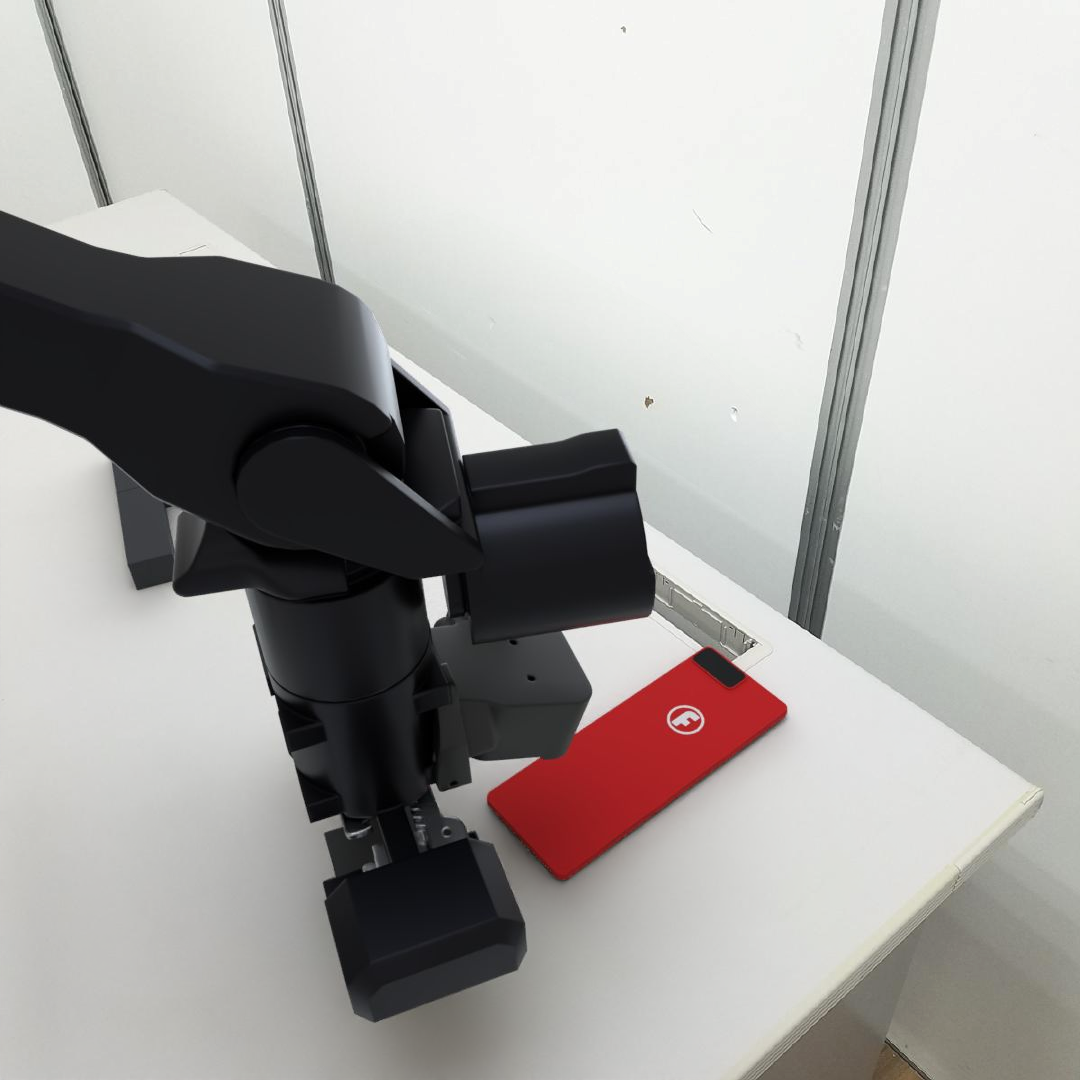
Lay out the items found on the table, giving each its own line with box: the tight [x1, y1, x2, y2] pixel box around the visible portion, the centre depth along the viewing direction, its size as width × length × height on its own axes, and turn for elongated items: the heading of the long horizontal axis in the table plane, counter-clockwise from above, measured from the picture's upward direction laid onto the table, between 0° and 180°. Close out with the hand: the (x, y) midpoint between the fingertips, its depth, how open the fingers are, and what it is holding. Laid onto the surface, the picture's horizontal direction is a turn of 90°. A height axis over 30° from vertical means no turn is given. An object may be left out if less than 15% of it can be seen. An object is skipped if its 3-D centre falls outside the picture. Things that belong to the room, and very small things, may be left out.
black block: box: [323, 806, 427, 877], centre depth 50 cm, size 5×5×3 cm
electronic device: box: [486, 646, 788, 881], centre depth 56 cm, size 6×1×15 cm
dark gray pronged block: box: [111, 462, 175, 590], centre depth 72 cm, size 12×14×2 cm
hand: (399, 886), depth 50 cm, fingers closed on black block, 5 cm apart
